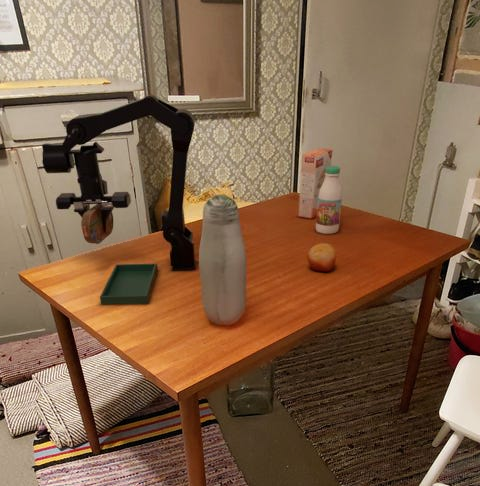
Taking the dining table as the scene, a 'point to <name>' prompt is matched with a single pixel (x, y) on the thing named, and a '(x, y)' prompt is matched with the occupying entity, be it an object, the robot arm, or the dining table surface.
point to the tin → (95, 225)
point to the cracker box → (312, 180)
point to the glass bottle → (222, 261)
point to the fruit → (322, 257)
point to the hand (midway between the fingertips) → (99, 232)
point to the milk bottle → (329, 202)
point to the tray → (129, 284)
